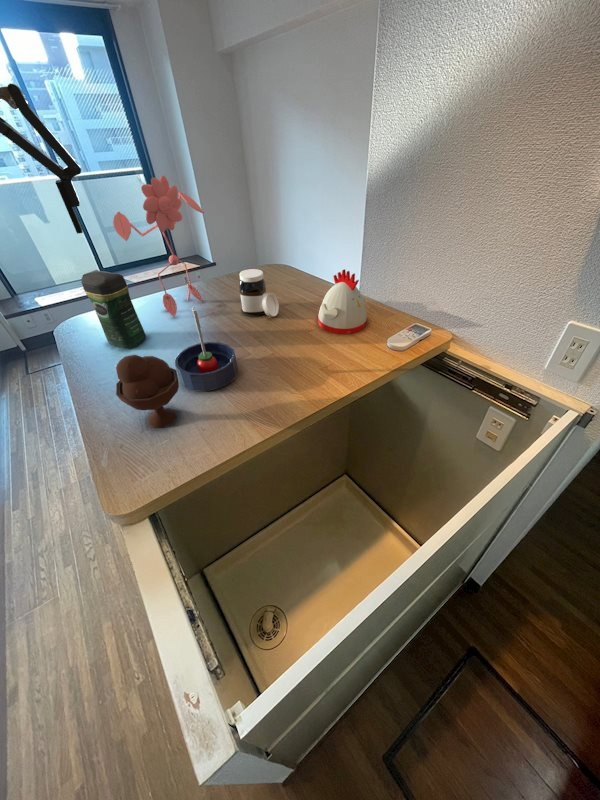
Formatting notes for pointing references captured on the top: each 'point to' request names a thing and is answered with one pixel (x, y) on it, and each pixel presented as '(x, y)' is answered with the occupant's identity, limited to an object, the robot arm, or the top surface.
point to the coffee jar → (114, 308)
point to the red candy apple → (204, 352)
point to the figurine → (161, 224)
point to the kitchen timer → (343, 306)
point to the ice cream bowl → (148, 387)
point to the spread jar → (256, 294)
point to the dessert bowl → (209, 380)
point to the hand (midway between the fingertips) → (28, 237)
